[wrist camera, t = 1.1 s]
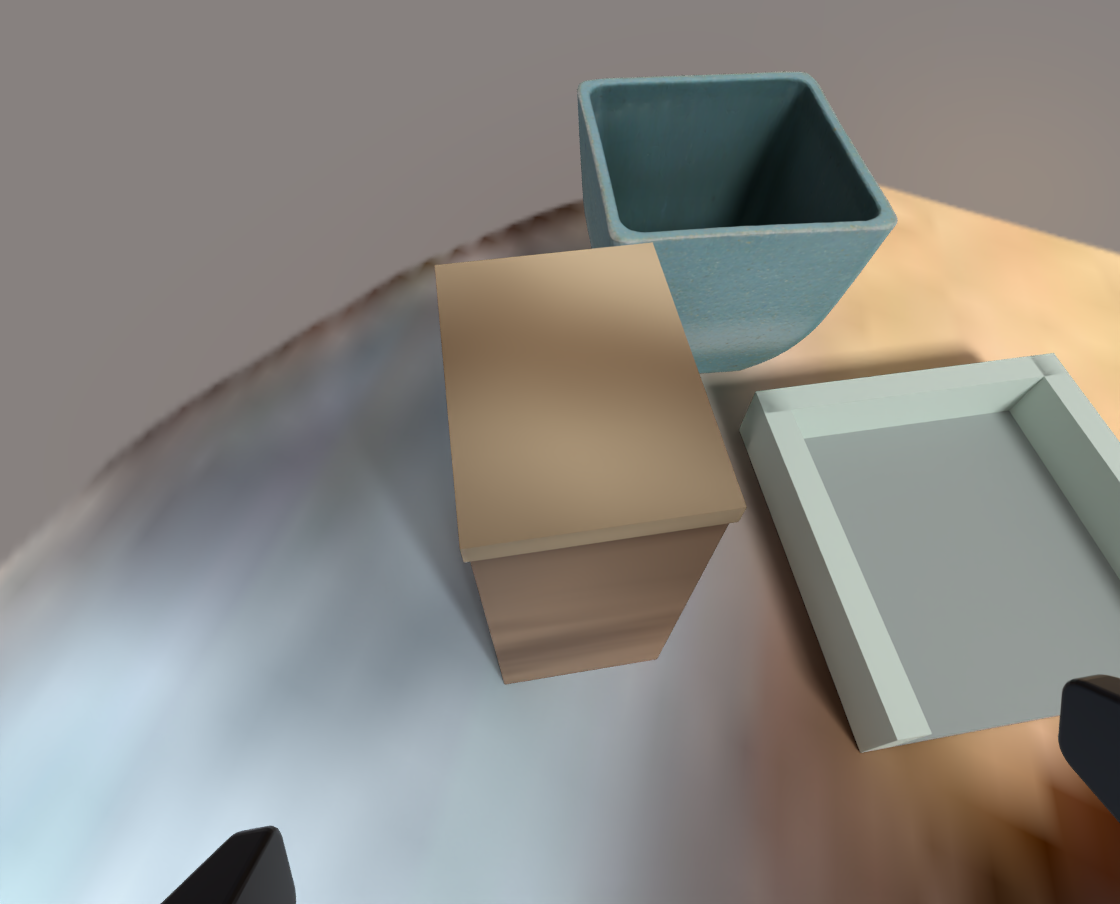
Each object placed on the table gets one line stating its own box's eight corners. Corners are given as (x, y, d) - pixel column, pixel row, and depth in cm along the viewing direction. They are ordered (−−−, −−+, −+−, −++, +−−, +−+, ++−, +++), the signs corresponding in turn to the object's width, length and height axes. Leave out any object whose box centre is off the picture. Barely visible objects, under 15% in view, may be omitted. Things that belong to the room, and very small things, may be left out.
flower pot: (749, 257, 31) (812, 65, 24) (805, 403, 27) (906, 223, 19) (569, 269, 31) (574, 76, 23) (594, 421, 26) (612, 242, 18)
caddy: (660, 661, 21) (746, 507, 12) (501, 688, 21) (459, 549, 11) (614, 473, 25) (652, 242, 15) (480, 491, 24) (434, 265, 15)
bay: (1211, 687, 21) (1287, 667, 19) (860, 752, 20) (897, 740, 17) (1014, 392, 27) (1053, 353, 25) (739, 429, 26) (755, 391, 24)
